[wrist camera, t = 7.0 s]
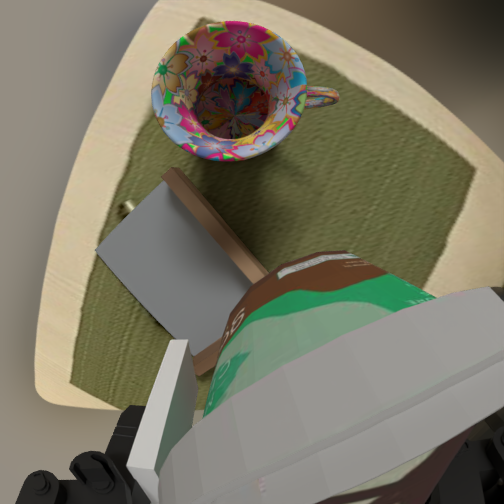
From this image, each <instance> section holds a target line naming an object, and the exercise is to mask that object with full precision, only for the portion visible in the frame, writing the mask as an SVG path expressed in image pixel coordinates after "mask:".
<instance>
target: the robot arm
mask: <svg viewBox="0 0 504 504" xmlns="http://www.w3.org/2000/svg"><path fill="white" fill-rule="evenodd" d="M491 289H492V290H493V291H494V292H495V293H496V294H497V295H498V296H499V297H500V299H501V300H502V301H503V302H504V289H503V288H501V287H491ZM197 393H198V385H197V381H196V376H195V371H194V366H193V361H192V356H191V351H190V346H189V341H188V339H186V340H170V343H169V346H168V348H167V351H166V353H165V356H164V359H163V361H162V364H161V367H160V370H159V372H158V375H157V378H156V380H155V383H154V386H153V389H152V392H151V394H150V397H149V400H148V403H147V406H136V405H130V406H129V407H128V408H127V409H126V410H125V411H124V412H123V413H122V414H121V415H120V418H119V420H118V423H117V427H115V430H114V432H113V435H112V437H111V439H110V442H109V444H108V447H107V449H106V452H105V454H104V453H101V452H98V451H88V452H84V453H82V454H80V455H78V456H76V457H75V458H74V460H73V461H72V462H71V465H70V468H69V470H70V471H71V472H72V473H73V475H74V476H75V477H76V479H77V480H58V479H57V478H56V477H55V476H54V474H53V473H50V472H48V471H44V470H39V471H36V472H33V473H31V474H30V475H28V477H27V478H26V480H25V481H24V484H23V486H22V488H21V491H20V493H19V496H18V498H17V501H16V503H15V504H159V498H158V483H159V476H160V470H161V468H162V466H163V464H164V462H165V460H166V459H167V457H168V455H169V453H170V451H171V449H172V448H173V447H174V446H175V445H176V444H177V443H178V442H179V441H180V440H181V439H182V438H183V436H184V435H185V434H186V433H187V432H188V431H189V430H190V429H191V428H192V423H193V416H194V411H195V405H196V399H197ZM425 504H504V407H502V408H501V409H499V410H498V411H496V412H495V413H493V414H491V415H490V416H488V417H487V418H485V419H483V420H481V421H480V422H478V423H476V424H475V426H474V427H473V429H472V431H471V432H470V434H469V436H468V437H467V439H466V440H465V442H464V444H463V445H462V447H461V448H460V450H459V451H458V453H457V454H456V455H455V457H454V458H453V460H452V461H451V463H450V464H449V466H448V468H447V469H446V471H445V472H444V474H443V476H442V477H441V479H440V480H439V482H438V483H437V485H436V486H435V488H434V489H433V491H432V493H431V494H430V496H429V498H428V499H427V501H426V502H425Z"/></svg>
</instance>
